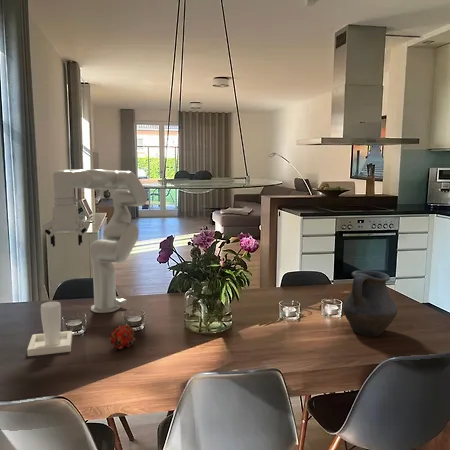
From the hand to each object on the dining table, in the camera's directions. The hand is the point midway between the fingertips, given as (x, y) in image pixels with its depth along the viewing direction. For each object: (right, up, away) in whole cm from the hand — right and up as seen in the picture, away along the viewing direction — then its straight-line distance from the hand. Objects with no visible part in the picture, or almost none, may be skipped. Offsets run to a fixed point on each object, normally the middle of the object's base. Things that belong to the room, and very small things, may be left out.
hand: (66, 245), depth 180 cm
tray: (-1, -36, -15) cm, 39 cm away
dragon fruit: (+26, -36, -16) cm, 47 cm away
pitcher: (+118, -34, -2) cm, 123 cm away
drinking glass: (0, -35, -14) cm, 38 cm away
